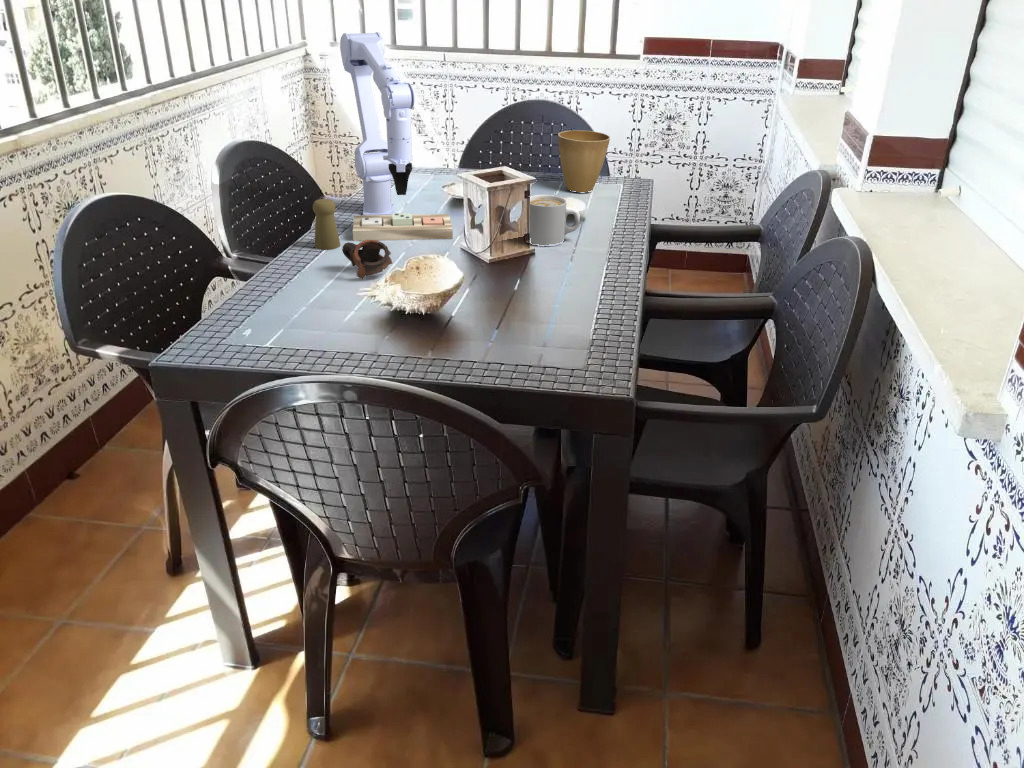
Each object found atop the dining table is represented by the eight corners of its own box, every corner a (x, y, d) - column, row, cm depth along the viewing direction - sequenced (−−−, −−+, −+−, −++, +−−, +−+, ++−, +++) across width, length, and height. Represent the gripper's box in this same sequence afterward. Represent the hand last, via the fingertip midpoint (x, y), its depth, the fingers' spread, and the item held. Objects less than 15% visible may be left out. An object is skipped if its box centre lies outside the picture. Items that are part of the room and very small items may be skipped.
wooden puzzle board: (354, 225, 208) (354, 215, 207) (449, 223, 212) (448, 214, 210) (353, 240, 198) (352, 230, 197) (452, 238, 201) (452, 228, 200)
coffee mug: (520, 245, 199) (522, 204, 194) (527, 232, 207) (529, 193, 202) (575, 250, 197) (578, 209, 192) (580, 236, 205) (583, 197, 200)
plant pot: (590, 200, 233) (594, 143, 226) (545, 191, 240) (548, 135, 233) (614, 189, 244) (619, 134, 237) (570, 180, 251) (574, 127, 244)
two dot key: (362, 229, 206) (362, 217, 204) (382, 229, 206) (381, 216, 205) (362, 235, 201) (361, 223, 200) (382, 235, 202) (381, 222, 201)
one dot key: (422, 228, 208) (422, 216, 206) (441, 228, 208) (441, 215, 207) (423, 234, 204) (423, 222, 202) (443, 234, 204) (442, 221, 203)
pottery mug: (399, 267, 185) (399, 243, 178) (380, 298, 180) (379, 274, 173) (351, 248, 186) (349, 224, 179) (331, 278, 181) (328, 254, 174)
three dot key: (392, 225, 206) (392, 212, 205) (412, 224, 207) (411, 212, 205) (393, 231, 202) (392, 218, 200) (412, 230, 203) (412, 218, 201)
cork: (343, 242, 197) (340, 197, 192) (336, 250, 192) (332, 204, 186) (318, 240, 198) (314, 195, 192) (311, 249, 192) (306, 203, 187)
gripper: (381, 131, 199) (384, 186, 206) (382, 144, 187) (385, 203, 193) (411, 130, 200) (412, 186, 207) (413, 144, 188) (415, 202, 194)
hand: (401, 194), depth 200 cm, fingers closed
